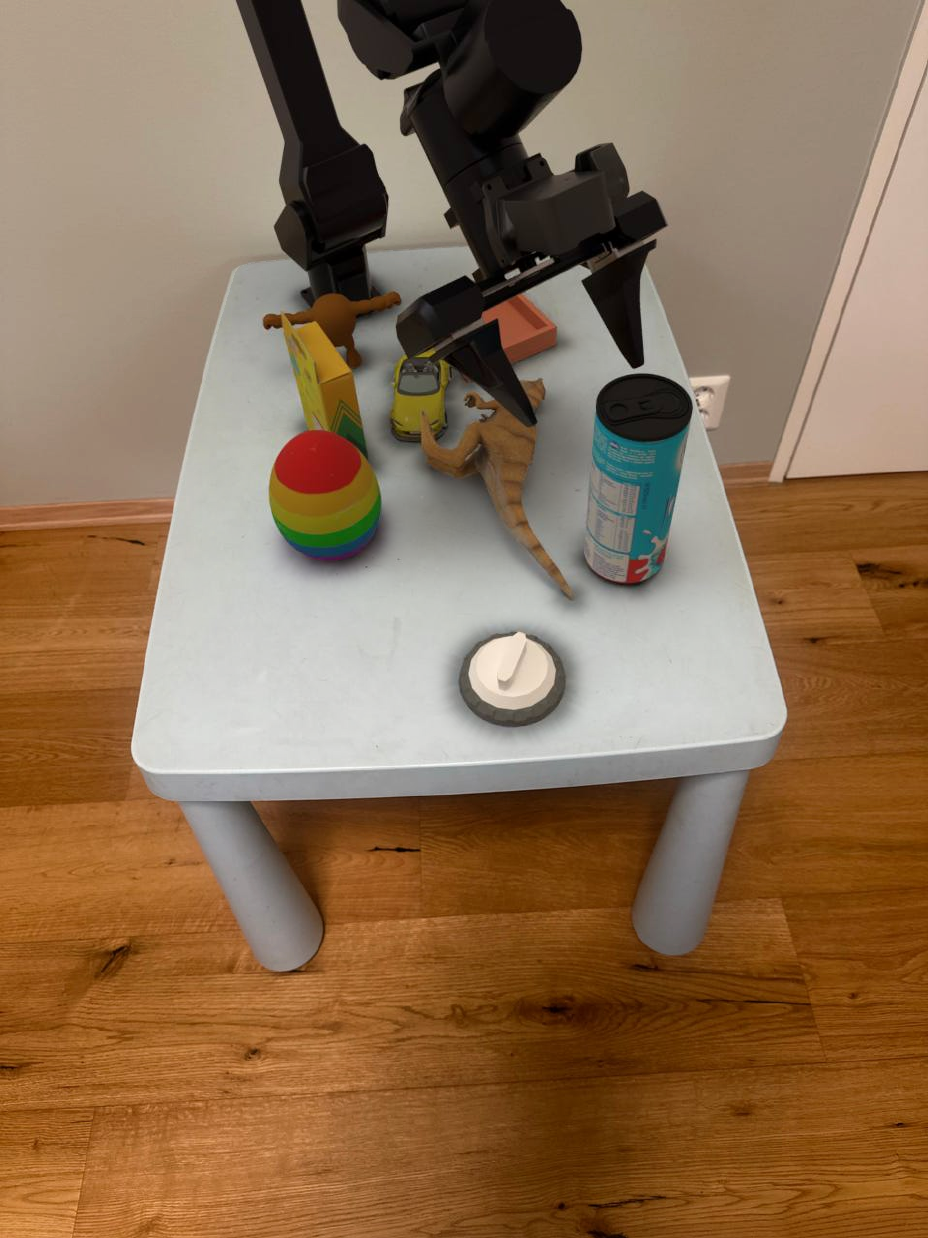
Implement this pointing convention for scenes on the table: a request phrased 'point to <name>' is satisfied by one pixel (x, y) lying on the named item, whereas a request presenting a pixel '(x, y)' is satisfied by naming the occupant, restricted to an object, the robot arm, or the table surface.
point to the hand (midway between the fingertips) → (587, 395)
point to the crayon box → (324, 383)
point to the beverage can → (634, 475)
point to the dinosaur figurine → (497, 464)
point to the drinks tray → (521, 328)
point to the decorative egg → (324, 496)
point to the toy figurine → (337, 319)
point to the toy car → (419, 396)
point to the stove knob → (512, 679)
